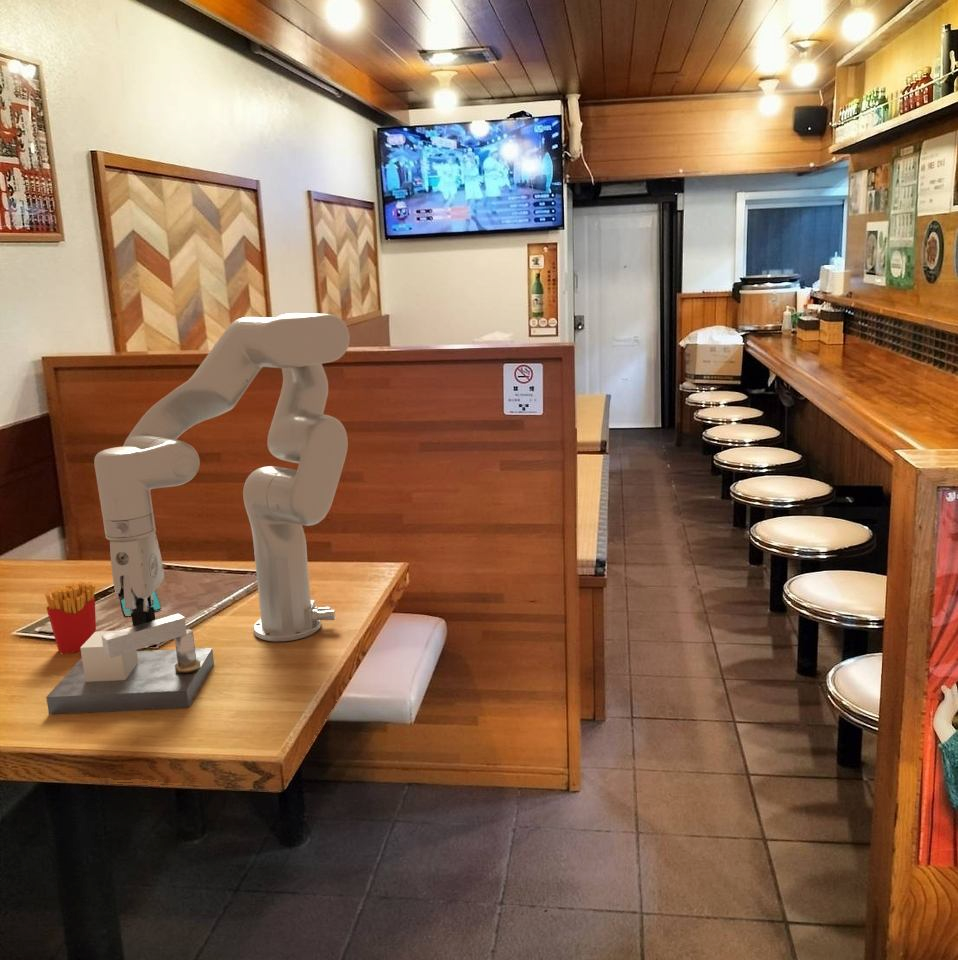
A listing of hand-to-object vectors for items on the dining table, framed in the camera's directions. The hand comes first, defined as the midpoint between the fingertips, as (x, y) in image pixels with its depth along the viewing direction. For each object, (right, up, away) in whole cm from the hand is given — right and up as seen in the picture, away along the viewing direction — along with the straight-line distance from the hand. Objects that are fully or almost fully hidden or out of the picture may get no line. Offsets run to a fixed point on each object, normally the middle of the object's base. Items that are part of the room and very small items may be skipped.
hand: (145, 631), depth 150 cm
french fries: (-20, -6, +20) cm, 29 cm away
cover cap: (-6, -7, +2) cm, 10 cm away
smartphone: (-16, -1, +42) cm, 45 cm away
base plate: (-3, -10, +3) cm, 11 cm away
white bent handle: (+2, -7, -1) cm, 8 cm away
